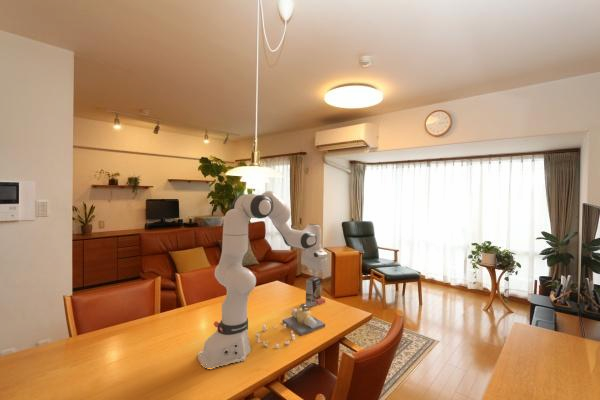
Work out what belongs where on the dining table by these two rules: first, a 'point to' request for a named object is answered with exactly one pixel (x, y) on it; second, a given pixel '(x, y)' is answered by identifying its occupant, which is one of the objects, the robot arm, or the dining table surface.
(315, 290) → the coffee box
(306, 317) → the valve base
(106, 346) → the dining table surface
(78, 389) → the dining table surface
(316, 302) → the valve lever
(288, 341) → the game piece set
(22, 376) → the dining table surface
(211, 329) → the dining table surface
